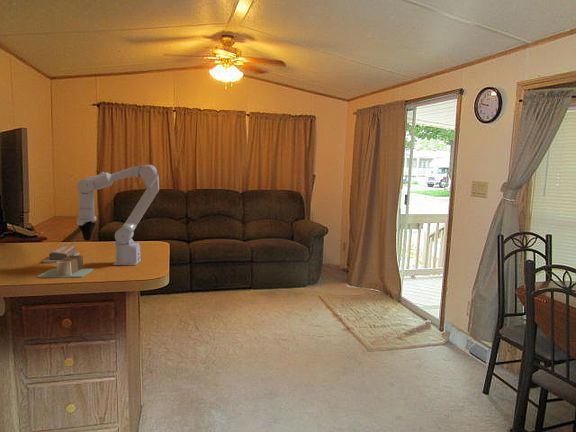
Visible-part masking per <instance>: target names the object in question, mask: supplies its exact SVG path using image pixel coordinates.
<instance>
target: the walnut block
mask: <svg viewBox="0 0 576 432" xmlns="http://www.w3.org/2000/svg"><path fill="white" fill-rule="evenodd" d="M55 264H56V269H57V275H72V274H74V273H75V272H77V271H79V270H80V269H84V256H83V255H78V256H68V257H66V258H64V259H62V260H60V261H58V262H56V263H55Z"/></svg>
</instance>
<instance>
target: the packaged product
mask: <svg viewBox="0 0 576 432" xmlns="http://www.w3.org/2000/svg"><path fill="white" fill-rule="evenodd" d="M76 248H77V247H76V246H75V245H72V244H71V245H61V246H59V247H57V248H55V249H54V250H53V251H51V252H49V254H48V255H49V257H47V258H45V259H43V264H56V262H58V261H60V260H62V259H64V258H66V257H68V256H80V254H81V252H80V251H76Z"/></svg>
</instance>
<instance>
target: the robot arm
mask: <svg viewBox="0 0 576 432" xmlns="http://www.w3.org/2000/svg"><path fill="white" fill-rule="evenodd" d="M159 176H160V174H159V172H158V169H157V168H156V166H155V165H153V164H143V165H137V166H132V167H128V168H126V169H121V170H119V171H117V172H114V173H109V172H104V171H102V172H100V173H99V174H96V175H93V176H91V175H90V176H89V175H88V176H87V177H88V178H82V179H80V180H79V181H78V182H77V184H76V188H77V191H78V214H79V215H78V217H76V218H75V219H76V226H78V228H79V229H80V231H81V233H82V237H83V241H91V240H92V236H93V235H92V234H93V231H94V228H95V227H96V225H97V224H96V221H97V216H96V215H95V191H98V190H102V189H104V188H108V187H111V186H113V183H114V182H116V181H120V180H123V179H127V178H131V177H136V178H140V179H142V181H143V182H144V185H145V188H146V189H145V190H144V192H143V194H142V195H141V197H140V199H139V201H138V202H137V204H136V205H135V207H134V208H133V209H132V211H131V213H130V215H129V216H128V218H127V219H126V221H125V222H124V224H123V225H122V226H121V227H120V228H119V229H118V230H116V231H115V233H114V239H115V257H116V258H115V260H116V261H115V262H114V263H113V264H112V265H113V266H137V265H138V264H139V263H140V262H141V261H142V260H141V245H140V243H139V242H135V241H134V240H133V237H134V235H135V230H136V228H137V226H138V224H139V223H140V221H141V219H142V218H143V216H144V215H145V213H146V212H147V210H148V208H149V207H150V205H151V203H152V202H153V200H155V197H156V195H158V193H159V191H160V177H159Z"/></svg>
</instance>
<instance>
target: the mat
mask: <svg viewBox="0 0 576 432" xmlns="http://www.w3.org/2000/svg"><path fill="white" fill-rule="evenodd" d="M93 271H94V268H82V269H80V270H79V271H77V272H75V273H74V274H72V275H57V268H50V269H48V270H46V271H45V272H42V273H41V274H39V275H37V276H36V278H39V279H41V278H43V279H44V278H48V279H49V278H83V277H85V276H87V275H88V274H89V273H91V272H93Z"/></svg>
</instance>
